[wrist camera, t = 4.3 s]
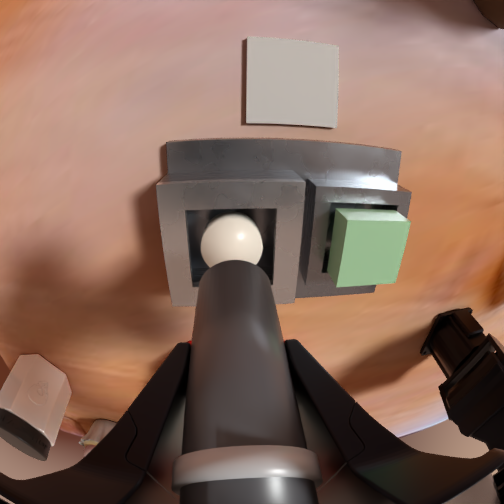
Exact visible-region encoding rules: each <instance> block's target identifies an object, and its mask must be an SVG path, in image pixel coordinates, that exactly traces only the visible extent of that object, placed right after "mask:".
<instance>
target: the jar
mask: <svg viewBox="0 0 504 504" xmlns="http://www.w3.org/2000/svg"><path fill="white" fill-rule="evenodd" d="M71 394H72V391H71V388H70V385H69V382H68V379H67V376H66V374H65V373H64V372H62V371H61V370H59V369H58V368H57V367H55V366H54V365H52V364H51V363H50V362H48V361H47V360H46V359H44V358H43V357H42V356H40V355H39V354H29V355H20V356H19V357H18V359H17V361H16V363H15V365H14V366H13V368H12V370H11V372H10V374H9V375H8V377H7V379H6V382H5V383H4V385H3V387H2V389H1V391H0V437H1V438H3V439H4V440H5V441H6V442H8V443H9V444H11V445H12V446H13V447H15V448H17V449H18V450H20V451H22V452H23V453H25V454H27V455H29V456H31V457H33V458H36V459H38V460H42V461H45V460H47V457H48V453H49V450H50V447H51V446H54V444H55V441H56V438H57V434H58V431H59V428H60V425H61V422H62V419H63V416H64V413H65V411H66V408H67V405H68V402H69V399H70V397H71Z"/></svg>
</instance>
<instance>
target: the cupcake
mask: <svg viewBox="0 0 504 504" xmlns="http://www.w3.org/2000/svg"><path fill="white" fill-rule="evenodd" d="M115 425H116V423H115V422H112V421H109V420H103V419H99V420H96V421H95V422H94V423H93V424H92V426H91V428H90V430H89V431H88V433H87V434H86V435H85V436H84V437H83V438H82V439H81V441H80V442H79V443H80V444H81V445H83V446H84V448H85V449H84V457H85V456H86V455H87V454H88V453H89V452H90V451H91V450H92V449H93V448H94V447H95V446H96V445H97V444H98V443H99V442H100V441H101V440H102V439H103V438H104V437H105V436H106V435H107V434H108V433H109V431H110V430H111V429H112V428H113V427H114V426H115Z"/></svg>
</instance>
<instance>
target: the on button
mask: <svg viewBox="0 0 504 504" xmlns="http://www.w3.org/2000/svg"><path fill="white" fill-rule="evenodd" d="M410 223H411V221H409V220H408V219H407V218H405V217H404V216H402V215H401V214H400V213H398V212H397V211H395V210H377V209H347V208H336V210H335V218H334V226H333V234H332V241H331V248H330V255H329V261H328V268H327V272H328V273H329V275H330V277H331V279H332V281H333V282H334V284H335V286H336V287H349V286H363V285H376V284H389V283H395V282H396V278H397V275H398V271H399V268H400V264H401V260H402V257H403V253H404V249H405V245H406V241H407V236H408V232H409V228H410Z"/></svg>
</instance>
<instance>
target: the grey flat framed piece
mask: <svg viewBox="0 0 504 504" xmlns="http://www.w3.org/2000/svg"><path fill="white" fill-rule="evenodd" d="M166 146H167V165H168V173H167V174H166V175H165V176H164V177H163V178H162V179H161V180H160V181H159V182H158V183H157V184H156V192H157V202H158V212H159V221H160V229H161V237H162V244H163V252H164V259H165V265H166V272H167V278H168V284H169V290H170V295H171V301H172V306H196V304H197V296H198V289H199V283H200V280H201V278H202V276H203V275H204V273H205V272H206V271H207V270H208V269H209V268H210V267H209V266H208V265H207V264H206V262H205V261H204V259H203V257H202V254H201V241H202V236H203V232H204V229H205V227H206V225H207V223H208V222H209V221H210V220H211V219H212V218H213V217H215V216H216V215H218V214H220V213H223V212H229V211H235V212H240V213H243V214H245V215H247V216H249V217H250V218H251V219H252V220H253V221H254V222H255V223H256V224H257V226H258V228H259V231H260V235H261V239H262V244H263V250H262V255H261V258H260V260H259V261H258V263H257V264H256V265H257V266H258V267H260V268H261V269H262V270H263V271H264V272H265V273H266V275H267V276H268V278H269V280H270V283H271V288H272V292H273V296H274V301H275V304H288V303H294V302H295V298H305V297H322V296H336V295H350V294H362V293H373V292H374V291H375V287H376V285H363V286H349V287H336V286H335V284H334V282H333V281H332V279H331V277H330V275H329V273H328V272H327V268H328V261H329V255H330V248H331V241H332V234H333V226H334V218H335V210H336V208H347V209H377V210H395V211H397V212H398V213H400V214H401V215H402V216H404V217H405V218H407V215H408V210H409V205H410V199H411V193H412V192H411V191H409V190H407V189H405V188H403V187H401V186H399V185H398V184H397V182H398V175H399V167H400V159H401V151H399V150H395V149H390V148H383V147H376V146H369V145H360V144H352V143H342V142H331V141H319V140H304V139H283V138H210V139H189V140H174V141H168V142H166Z"/></svg>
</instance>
